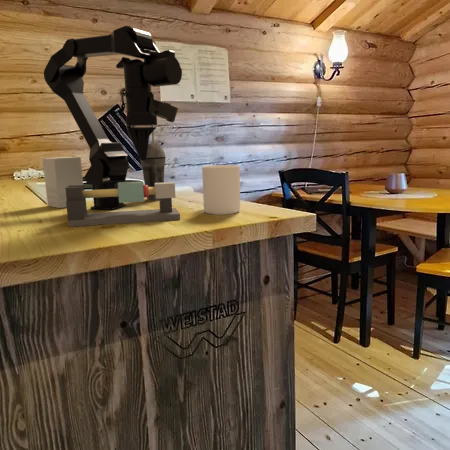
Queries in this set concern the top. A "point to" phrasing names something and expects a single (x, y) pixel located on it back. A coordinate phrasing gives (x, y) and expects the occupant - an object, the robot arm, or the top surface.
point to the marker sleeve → (130, 192)
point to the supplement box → (61, 178)
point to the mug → (221, 189)
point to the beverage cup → (153, 166)
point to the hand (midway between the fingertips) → (142, 159)
